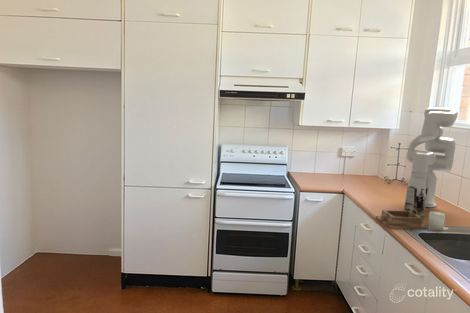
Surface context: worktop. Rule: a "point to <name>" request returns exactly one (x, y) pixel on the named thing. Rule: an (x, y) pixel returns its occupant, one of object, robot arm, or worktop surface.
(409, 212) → the tray
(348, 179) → the worktop surface
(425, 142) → the robot arm
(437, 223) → the white rounded cylinder
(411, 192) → the coffee box
